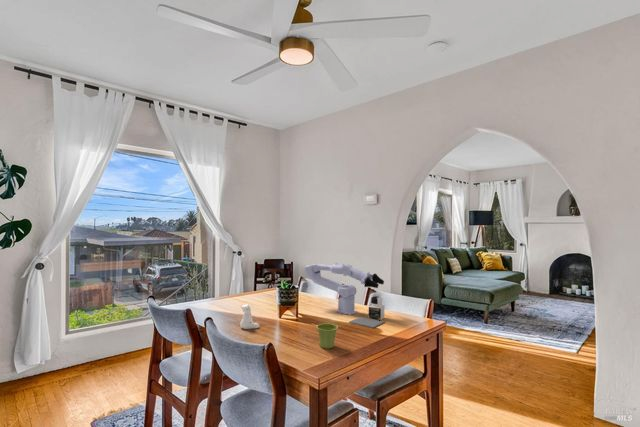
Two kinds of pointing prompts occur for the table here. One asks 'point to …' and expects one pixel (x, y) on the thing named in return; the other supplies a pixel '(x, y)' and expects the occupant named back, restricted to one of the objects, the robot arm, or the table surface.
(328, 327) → the plant pot
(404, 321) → the table surface
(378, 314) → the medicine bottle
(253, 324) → the white creature statuette
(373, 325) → the mat
